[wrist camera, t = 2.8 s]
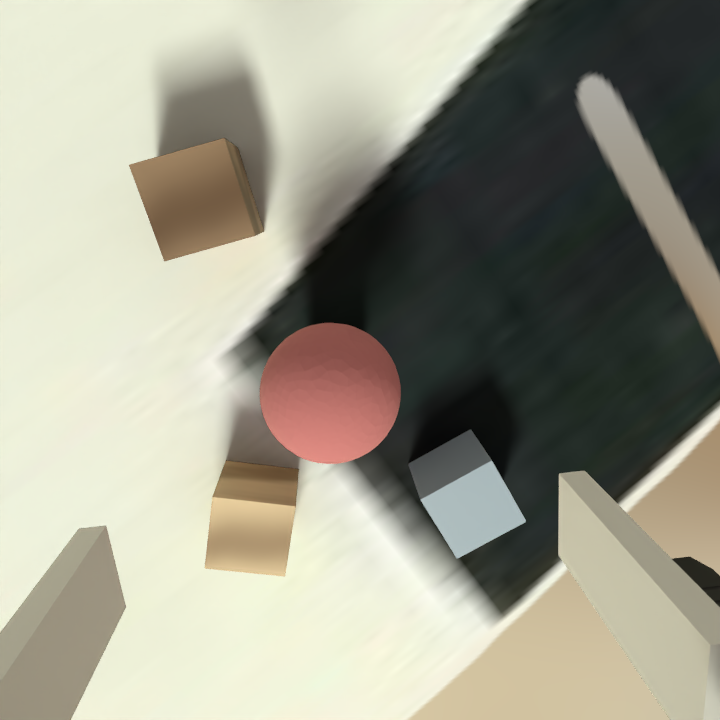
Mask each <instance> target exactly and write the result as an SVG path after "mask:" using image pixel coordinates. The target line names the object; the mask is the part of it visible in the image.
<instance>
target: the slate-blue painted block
mask: <svg viewBox="0 0 720 720" xmlns="http://www.w3.org/2000/svg"><path fill="white" fill-rule="evenodd" d="M408 465H409V468H410V471H411V474H412V476H413V479H414V482H415V485H416V488H417V491H418V494H419V497H420V500H421V501H422V503H423V505H424V506H425V508H426V509H427V511H428V513H429V514H430V516H431V517H432V519H433V521H434V522H435V524H436V525H437V527H438V529H439V530H440V532H441V534H442V535H443V537H444V538H445V540H446V542H447V543H448V545H449V546H450V548H451V550H452V551H453V553H454V554H455V556H456V558H459V557H461V556H463V555H465V554H467V553H469V552H470V551H472V550H474V549H476V548H478V547H480V546H482V545H483V544H485V543H487V542H489V541H491V540H493V539H495V538H497V537H498V536H500V535H502V534H504V533H506V532H508V531H510V530H511V529H513V528H515V527H517V526H519V525H521V524H523V523H524V522H526V520H525V519H524V517H523V515H522V513H521V511H520V510H519V508H518V506H517V504H516V503H515V501H514V499H513V497H512V495H511V494H510V492H509V490H508V488H507V486H506V485H505V483H504V481H503V479H502V478H501V476H500V474H499V472H498V470H497V469H496V467H495V465H494V463H493V462H492V460H491V458H490V457H489V455H488V454H487V452H486V451H485V449H484V448H483V447H482V445H481V444H480V442H479V441H478V439H477V438H476V436H475V435H474V433H473V432H472V430H471V429H470V430H468V431H466V432H465V433H463V434H461V435H459V436H457V437H456V438H454V439H452V440H450V441H448V442H447V443H445V444H443V445H441V446H439V447H438V448H436V449H434V450H432V451H430V452H429V453H427V454H425V455H423V456H421V457H420V458H418V459H416V460H414V461H412V462H411V463H409V464H408Z"/></svg>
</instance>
